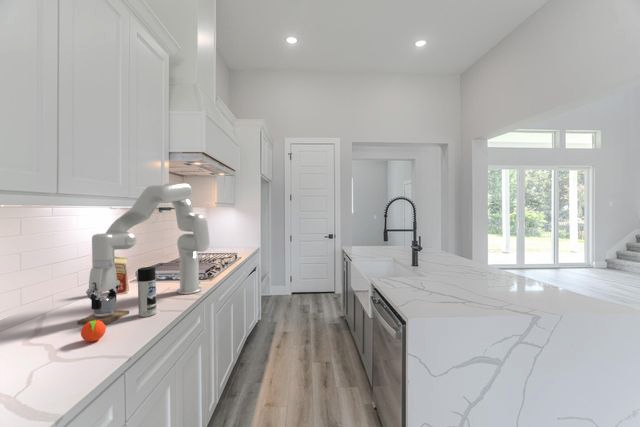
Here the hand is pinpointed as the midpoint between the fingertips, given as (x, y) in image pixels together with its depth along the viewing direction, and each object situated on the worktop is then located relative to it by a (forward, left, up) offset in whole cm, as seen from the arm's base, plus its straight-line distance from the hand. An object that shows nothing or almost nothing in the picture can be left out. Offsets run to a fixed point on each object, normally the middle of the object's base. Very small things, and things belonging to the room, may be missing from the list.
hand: (104, 305), depth 127 cm
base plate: (0, 0, -5) cm, 5 cm away
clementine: (+21, +13, -6) cm, 25 cm away
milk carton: (-38, -22, -6) cm, 44 cm away
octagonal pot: (0, 0, -2) cm, 2 cm away
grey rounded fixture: (0, 0, -4) cm, 4 cm away
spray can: (-5, +15, -6) cm, 17 cm away
